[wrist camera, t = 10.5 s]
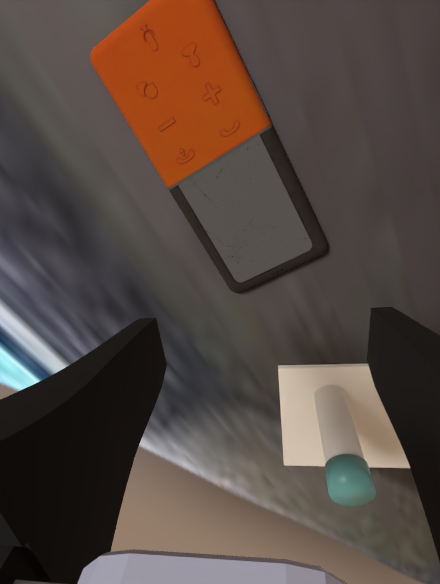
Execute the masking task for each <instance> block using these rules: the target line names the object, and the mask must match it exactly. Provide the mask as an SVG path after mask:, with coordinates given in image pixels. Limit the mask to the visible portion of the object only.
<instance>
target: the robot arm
mask: <svg viewBox="0 0 440 584" xmlns="http://www.w3.org/2000/svg"><path fill="white" fill-rule="evenodd" d="M367 362H368V365H369V369H370V372H371V376H372V379H373V382H374V386H375V388H376V391H377V393H378V395H379V397H380V400H381V402H382V404H383V406H384V409H385V411H386V413H387V415H388V417H389V419H390V422H391V424H392V426H393V428H394V430H395V433H396V435H397V437H398V439H399V441H400V444H401V446H402V448H403V450H404V453H405V455H406V458H407V460H408V463H409V465H410V468H411V471H412V474H413V477H414V480H415V483H416V486H417V489H418V492H419V495H420V498H421V502H422V505H423V508H424V511H425V514H426V518H427V521H428V524H429V527H430V530H431V534H432V537H433V540H434V544H435V547H436V551H437V554H438V557H439V561H440V336H439V335H438V334H436V333H434V332H433V331H431V330H429V329H428V328H426V327H424V326H423V325H421V324H419V323H418V322H416V321H415V320H413V319H411V318H410V317H408V316H406V315H405V314H403V313H402V312H400V311H398V310H396V309H394V308H392V307H382V308H371V316H370V329H369V342H368V354H367ZM166 366H167V364H166V359H165V355H164V351H163V346H162V342H161V338H160V333H159V329H158V325H157V321H156V318H144V319H138V320H136V321H135V322H133V323H131V324H130V325H128V326H127V327H126V328H124V329H123V330H121V331H120V332H118V333H117V334H116V335H114V336H113V337H111V338H110V339H109V340H107V341H106V342H104V343H103V344H101V345H100V346H99V347H97V348H96V349H94V350H93V351H91V352H90V353H88V354H86V355H85V356H83V357H82V358H80V359H79V360H77V361H76V362H74V363H73V364H71V365H69V366H68V367H66V368H64V369H62V370H61V371H59V372H57V373H55V374H53V375H52V376H50V377H48V378H46V379H44V380H42V381H40V382H38V383H36V384H34V385H32V386H30V387H27V388H25V389H23V390H21V391H19V392H17V393H14V394H12V395H10V396H8V397H6V398H3V399H1V400H0V584H346V583H345V582H344V581H343V580H341V579H339V578H337V577H336V576H334V575H333V574H331V573H329V572H328V571H326V570H324V569H323V568H321V567H319V566H315V565H310V564H305V563H300V562H295V561H291V560H286V559H271V558H256V557H239V556H225V555H209V554H195V553H178V552H164V551H148V550H125V551H115V552H110V551H111V546H112V542H113V538H114V533H115V529H116V525H117V520H118V516H119V512H120V508H121V504H122V501H123V496H124V493H125V489H126V485H127V481H128V478H129V474H130V471H131V468H132V464H133V461H134V457H135V454H136V451H137V449H138V446H139V443H140V441H141V438H142V436H143V433H144V431H145V428H146V426H147V423H148V421H149V418H150V416H151V414H152V411H153V409H154V406H155V403H156V401H157V398H158V396H159V393H160V390H161V387H162V383H163V379H164V375H165V371H166Z"/></svg>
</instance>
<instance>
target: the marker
mask: <svg viewBox="0 0 440 584" xmlns="http://www.w3.org/2000/svg"><path fill="white" fill-rule="evenodd" d="M314 400H315V406H316V412H317V417H318V423H319V429H320V434H321V440H322V446H323V452H324V457H325V463H326V464H325V473H326V479H327V485H328V491H329V496H330V498H331V499H332V500H333V501H334V502H336V503H338V504H340V505H343V506H350V507H354V506H362V505H365V504H367V503H369V502H371V501H372V500H373V499H374V498H375V495H376V491H375V487H374V484H373V480H372V477H371V474H370V470H369V467H368V464H367V462H366V461H365V459H364V456H363V452H362V449H361V445H360V442H359V438H358V435H357V431H356V428H355V424H354V421H353V417H352V414H351V410H350V407H349V403H348V400H347V396H346V393H345V391H344V390H343V389H342V388H341V387H339V386H337V385H324V386H322V387H320V388H318V389H317V390H316V391H315V393H314Z"/></svg>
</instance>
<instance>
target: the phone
mask: <svg viewBox="0 0 440 584" xmlns="http://www.w3.org/2000/svg"><path fill="white" fill-rule="evenodd" d="M91 62H92V65H93V67H94V68H95V70H96V72H97V73H98V75H99V77H100V78H101V80H102V81H103V83H104V85H105V86H106V88H107V90H108V91H109V93H110V95H111V96H112V98H113V99H114V101H115V103H116V104H117V106H118V108H119V109H120V111H121V112H122V114H123V116H124V117H125V119H126V121H127V122H128V124H129V126H130V127H131V129H132V130H133V132H134V134H135V135H136V137H137V139H138V140H139V142H140V143H141V145H142V147H143V148H144V150H145V152H146V153H147V155H148V157H149V158H150V160H151V161H152V163H153V165H154V166H155V168H156V170H157V171H158V173H159V174H160V176H161V178H162V179H163V181H164V183H165V184H166V186H167V188H168V189H169V191H170V192H171V194H172V196H173V197H174V199H175V201H176V202H177V204H178V206H179V207H180V209H181V210H182V212H183V214H184V215H185V217H186V219H187V220H188V222H189V223H190V225H191V227H192V228H193V230H194V232H195V233H196V235H197V237H198V238H199V240H200V241H201V243H202V245H203V246H204V248H205V250H206V251H207V253H208V254H209V256H210V258H211V259H212V261H213V263H214V264H215V266H216V268H217V269H218V271H219V272H220V274H221V276H222V277H223V279H224V281H225V282H226V284H227V286H228V287H229V289H230V290H231V291H233V292H235V293H240V292H243V291H245V290H247V289H249V288H251V287H254V286H256V285H258V284H260V283H262V282H264V281H266V280H269V279H271V278H273V277H275V276H277V275H279V274H282V273H284V272H286V271H288V270H290V269H292V268H294V267H297V266H299V265H301V264H303V263H305V262H307V261H309V260H312V259H314V258H316V257H318V256H320V255H322V254H323V253H324V252H325V251H326V249H327V241H326V239H325V237H324V235H323V232H322V230H321V228H320V226H319V224H318V222H317V220H316V218H315V215H314V213H313V211H312V209H311V207H310V205H309V203H308V200H307V198H306V196H305V194H304V192H303V190H302V188H301V186H300V183H299V181H298V179H297V177H296V175H295V173H294V171H293V169H292V166H291V164H290V162H289V160H288V158H287V156H286V154H285V151H284V149H283V147H282V145H281V143H280V141H279V139H278V137H277V134H276V132H275V130H274V128H273V126H272V124H271V122H270V120H269V117H268V114H267V112H266V110H265V107H264V105H263V103H262V101H261V99H260V97H259V95H258V93H257V90H256V88H255V86H254V84H253V82H252V80H251V78H250V76H249V75H248V73H247V71H246V68H245V66H244V64H243V62H242V60H241V58H240V56H239V54H238V51H237V49H236V47H235V45H234V43H233V41H232V39H231V36H230V34H229V32H228V30H227V28H226V26H225V24H224V22H223V19H222V17H221V15H220V13H219V11H218V9H217V7H216V5H215V2H214V0H150V1H148V2H147V3H146V4H145V5H143V6H142V7H141V8H140V9H139V10H137V11H136V12H135V13H134V14H133V15H131V16H130V17H129V18H128V19H127V20H126V21H125V22H123V23H122V24H121V25H120V26H119V27H118V28H116V29H115V30H114V31H113V32H112V33H110V34H109V35H108V36H107V37H106V38H105V39H103V40H102V41H101V42H100V43H99V44H97V45H96V46H95V47H94V48H93V50H92V52H91Z"/></svg>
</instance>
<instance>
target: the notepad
mask: <svg viewBox="0 0 440 584" xmlns="http://www.w3.org/2000/svg"><path fill="white" fill-rule="evenodd" d="M278 373H279V390H280V407H281V424H282V441H283V458H284V465H294V466H325V464H326V463H325V457H324V452H323V446H322V440H321V434H320V429H319V423H318V417H317V412H316V406H315V400H314V393H315V391H316V390H317V389H318V388H320V387H322V386H324V385H337V386H339V387H341V388H342V389H343V390H344V391H345V393H346V396H347V400H348V403H349V407H350V410H351V414H352V417H353V421H354V424H355V428H356V431H357V435H358V438H359V442H360V445H361V449H362V452H363V456H364V459H365V461H366V462H367V464H368V467H383V468H410V465H409V463H408V460H407V458H406V455H405V453H404V450H403V448H402V446H401V444H400V441H399V439H398V437H397V435H396V433H395V430H394V428H393V426H392V424H391V422H390V419H389V417H388V415H387V413H386V411H385V409H384V406H383V404H382V402H381V400H380V397H379V395H378V393H377V391H376V388H375V386H374V382H373V379H372V376H371V372H370V369H369V365H368V364H324V365H279V366H278Z"/></svg>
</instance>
